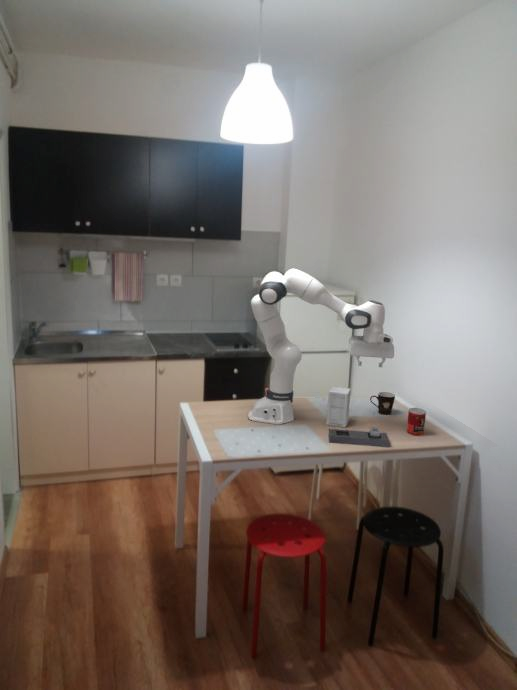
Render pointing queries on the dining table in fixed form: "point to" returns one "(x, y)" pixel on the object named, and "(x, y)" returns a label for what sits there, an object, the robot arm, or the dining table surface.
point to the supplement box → (338, 406)
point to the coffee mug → (385, 402)
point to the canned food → (416, 421)
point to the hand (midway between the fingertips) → (370, 366)
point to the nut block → (374, 433)
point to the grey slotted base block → (357, 438)
